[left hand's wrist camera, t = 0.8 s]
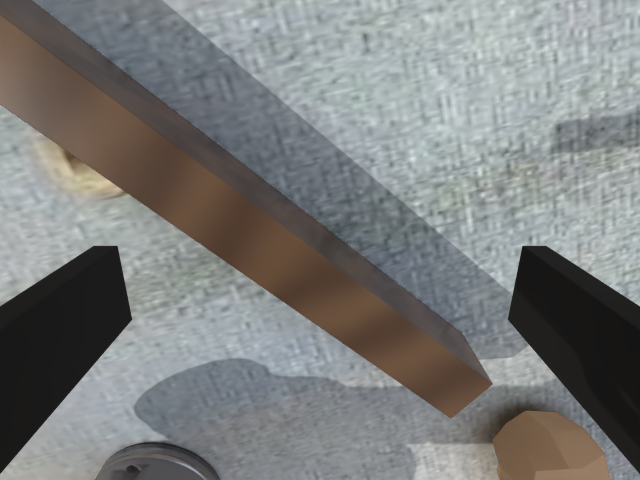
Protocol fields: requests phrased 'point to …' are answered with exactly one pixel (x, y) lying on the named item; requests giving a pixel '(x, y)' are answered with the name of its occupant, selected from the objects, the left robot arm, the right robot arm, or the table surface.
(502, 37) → the table surface
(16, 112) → the post
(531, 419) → the squash
